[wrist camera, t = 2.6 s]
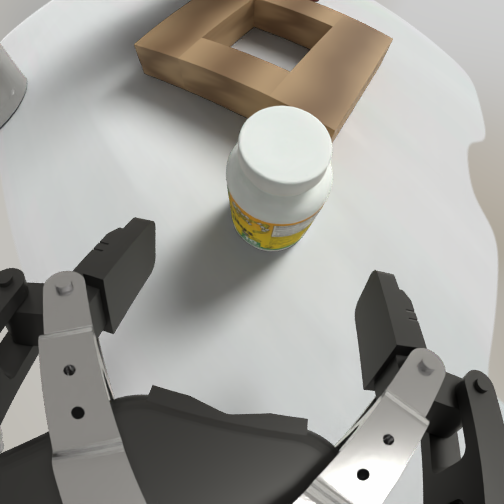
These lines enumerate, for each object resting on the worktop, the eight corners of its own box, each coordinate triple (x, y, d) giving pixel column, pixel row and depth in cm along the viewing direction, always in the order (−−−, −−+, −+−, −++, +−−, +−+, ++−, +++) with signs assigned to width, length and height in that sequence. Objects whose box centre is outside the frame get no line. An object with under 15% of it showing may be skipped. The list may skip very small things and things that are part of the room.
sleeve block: (144, 73, 24) (133, 44, 21) (230, 3, 27) (229, -24, 23) (322, 158, 23) (335, 130, 19) (380, 65, 25) (393, 38, 21)
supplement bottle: (319, 238, 22) (370, 182, 12) (245, 263, 21) (246, 220, 12) (292, 171, 23) (317, 85, 13) (221, 191, 22) (207, 110, 13)
